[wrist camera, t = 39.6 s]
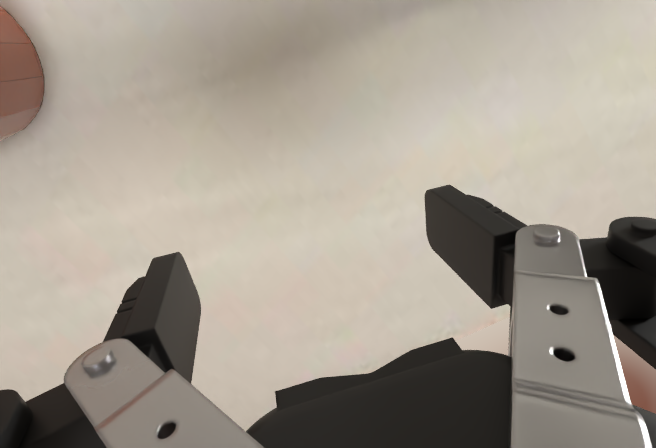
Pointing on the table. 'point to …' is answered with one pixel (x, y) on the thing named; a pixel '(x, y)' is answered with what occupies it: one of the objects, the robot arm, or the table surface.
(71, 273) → the table surface
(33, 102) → the pot
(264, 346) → the table surface
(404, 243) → the table surface
